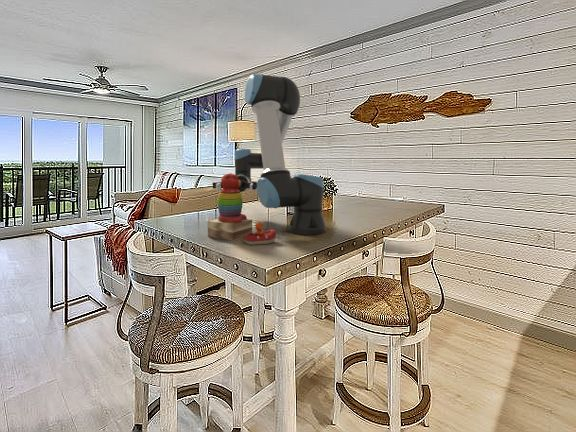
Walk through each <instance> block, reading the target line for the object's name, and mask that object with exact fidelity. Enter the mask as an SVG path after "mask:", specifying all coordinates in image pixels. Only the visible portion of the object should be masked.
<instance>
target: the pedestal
mask: <svg viewBox="0 0 576 432" xmlns="http://www.w3.org/2000/svg"><path fill="white" fill-rule="evenodd" d="M245 233H253V219H251V218H247V219H245V220H242V222H240V223H227V222H221V221H219V220H218V218H215V219H211V220H207V237H208V238H215V239H220V240H226V241H227V240H228V241H236V240H240V239H244V234H245Z"/></svg>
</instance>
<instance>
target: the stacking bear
mask: <svg viewBox="0 0 576 432" xmlns="http://www.w3.org/2000/svg"><path fill="white" fill-rule="evenodd" d="M220 179H221V180H220V182H221V184H222V187H223V188H222V189H220V190H219V193H218V199H217V209H218V213H219V216H218V218H217V219H218V220H219V221H221V222H227V223H240V222H242V220H245V219H248V218H247V214H243V213H242V210H243V198H242V192H240V190H239V189H238V188H239V186H240V185H241V181H240V180H239V179H238V177H237V176H236V175H235V173H232V172H230V173H226V174H223V175H222V177H221V178H220Z"/></svg>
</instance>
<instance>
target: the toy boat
mask: <svg viewBox="0 0 576 432" xmlns="http://www.w3.org/2000/svg"><path fill="white" fill-rule="evenodd" d="M263 228H264V224H263V222H261V221H258V222H257V223H256V224H255V229H256V230H257V231H256V232H252V233H245V234H244V237H243V239H244V242H245V243H246V244H247V245H249V246H259V245H260V246H261V245H263V246H264V245H271V244H273V243H274V242H276V238H277V231H276V230H275V229H273V228H272V229H268V230H266V231H264V230H263Z"/></svg>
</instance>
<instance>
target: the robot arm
mask: <svg viewBox="0 0 576 432" xmlns="http://www.w3.org/2000/svg"><path fill="white" fill-rule="evenodd" d="M244 101H245V103H246V104H248V105H250V106H251V111H252V112H253V113H254V114H256V124H257V130H258V131H257V132H258V136H259V137H258V138H259V145H260V153H259V152H252V150H251V149H249V148H237V149H235V153H234V171H235V172H234V175H236V176H237V177H238V179H239V180H240V181H241V185H240V186H239V188H238V189H239V190H240V193H243V192H245V191H246V190H248V189H249V192H253V191H255V190H256V194H257V195H256V196H257V198H258V200H259V202H260V204H261V205H262V206H263V207H264V208H267V209H279V208H293V214H292V216H291V219H290V223H289V226H288V231H289V232H291V233H292V234H298V235H304V236H305V235H307V236H308V235H310V236H311V235H312V236H313V235H315V236H316V235H321V233H322V234H325V233H326V232H327V225H326V222H325V221H326V220H325V218H324V216H323V215H324V214H323V199H324V180H323V178H322V177H320V176H316V175H309V174H301V173H294V176H293V177H291V172H290V171H291V170H289V169H288V168H287V167H286V163H285V155H284V148H283V142H284V139H285V137H286V134H287V132H288V130H289V127H290V125H291V122H292V120H293V117H294V116H296V115H297V114H298V111H299V108H300V104H301V93H300V90H299V88H298V85H297V84H296V83H295V82H294V81H293V80H292V79H291V78H289V77H287V76H286V77H285V76H278V75H277V76H276V75H270V74H269V75H268V74H262V73H260V74H259V73H253V74H251V75H250V76H249V77H248V78H247V81H246V84H245V89H244ZM253 169H254V170H255V169H259V170H261V169H263V171H262V173H261V174H260V178H258V179H257V181H252V178H251V176H252V174H251V173H252V172H251V171H252V170H253ZM213 189H214V190H215V191H216V192H218V191H219V192H220V191H221V190H222V189H223V187H222V184H221V181H217V182H212V190H213ZM324 232H325V233H324Z"/></svg>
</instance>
